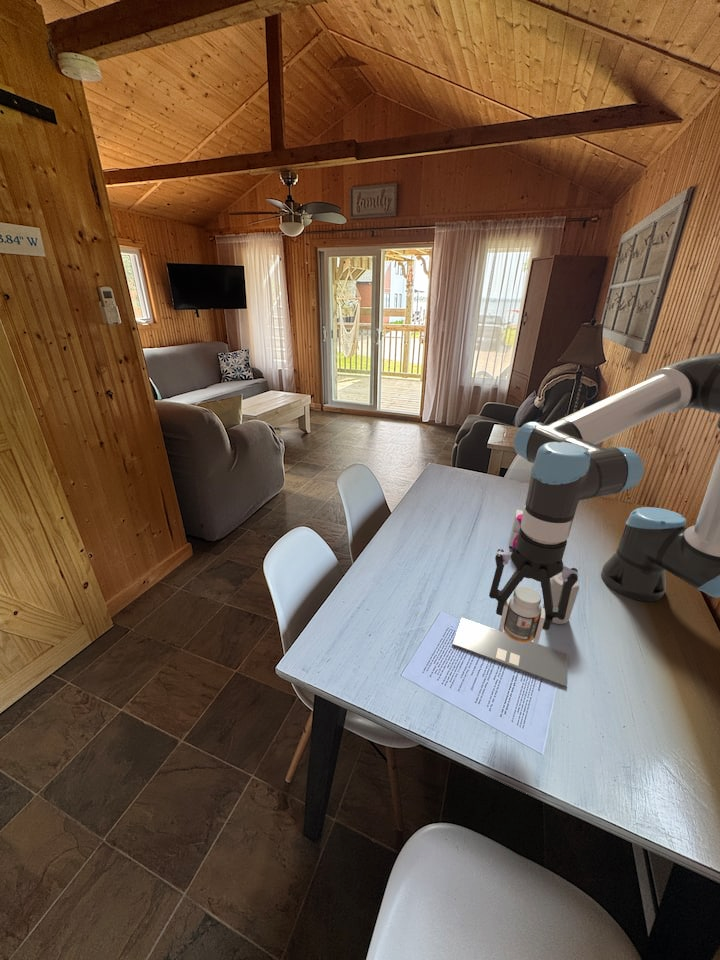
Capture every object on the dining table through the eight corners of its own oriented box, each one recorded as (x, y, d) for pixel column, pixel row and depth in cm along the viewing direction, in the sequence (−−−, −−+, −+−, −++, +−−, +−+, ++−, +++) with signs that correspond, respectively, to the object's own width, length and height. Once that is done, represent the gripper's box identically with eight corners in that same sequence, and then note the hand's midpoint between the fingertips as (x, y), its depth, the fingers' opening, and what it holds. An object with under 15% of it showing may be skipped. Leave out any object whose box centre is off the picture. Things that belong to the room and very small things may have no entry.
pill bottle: (536, 647, 73) (547, 607, 69) (504, 642, 74) (513, 602, 70) (531, 624, 78) (541, 586, 74) (501, 620, 80) (509, 581, 75)
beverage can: (557, 629, 96) (568, 591, 91) (535, 612, 101) (545, 575, 96) (574, 620, 98) (586, 583, 93) (552, 604, 104) (563, 567, 98)
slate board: (566, 655, 89) (567, 653, 88) (566, 688, 81) (566, 685, 81) (461, 619, 98) (461, 617, 98) (452, 645, 91) (452, 643, 91)
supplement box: (508, 547, 126) (515, 517, 121) (509, 538, 131) (515, 508, 126) (527, 551, 124) (535, 521, 119) (528, 542, 129) (535, 512, 124)
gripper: (605, 535, 65) (571, 636, 76) (490, 510, 73) (474, 604, 83) (608, 560, 59) (571, 665, 69) (482, 530, 67) (466, 629, 77)
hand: (518, 632), depth 76 cm, fingers closed on pill bottle, 6 cm apart
